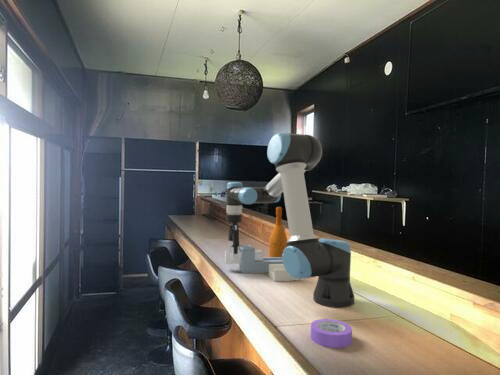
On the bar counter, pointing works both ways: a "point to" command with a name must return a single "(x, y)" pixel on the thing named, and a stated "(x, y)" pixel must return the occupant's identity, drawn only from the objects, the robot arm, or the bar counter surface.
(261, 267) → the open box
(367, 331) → the bar counter surface
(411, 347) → the bar counter surface
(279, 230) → the wine bottle
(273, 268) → the cradle
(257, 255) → the grey long rectangular block
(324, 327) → the masking tape
